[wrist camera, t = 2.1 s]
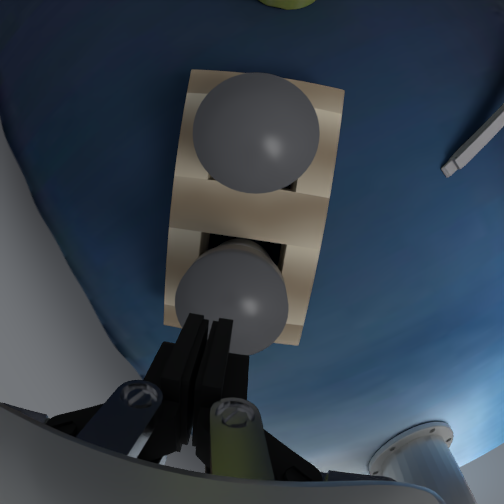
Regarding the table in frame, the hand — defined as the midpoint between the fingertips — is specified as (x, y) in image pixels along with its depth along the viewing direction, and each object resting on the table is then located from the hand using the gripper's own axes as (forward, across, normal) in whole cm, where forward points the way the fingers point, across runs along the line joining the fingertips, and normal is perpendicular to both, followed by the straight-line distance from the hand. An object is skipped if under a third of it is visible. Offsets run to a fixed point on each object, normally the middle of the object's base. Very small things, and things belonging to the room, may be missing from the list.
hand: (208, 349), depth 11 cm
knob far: (+11, -1, +1) cm, 11 cm away
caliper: (+14, -23, -18) cm, 32 cm away
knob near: (+11, -1, -8) cm, 14 cm away
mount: (+13, -1, -4) cm, 14 cm away
